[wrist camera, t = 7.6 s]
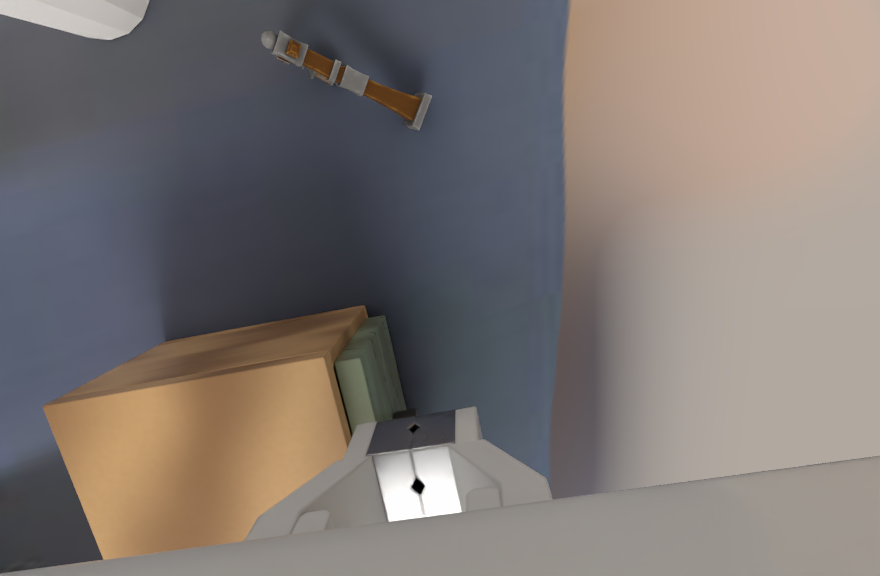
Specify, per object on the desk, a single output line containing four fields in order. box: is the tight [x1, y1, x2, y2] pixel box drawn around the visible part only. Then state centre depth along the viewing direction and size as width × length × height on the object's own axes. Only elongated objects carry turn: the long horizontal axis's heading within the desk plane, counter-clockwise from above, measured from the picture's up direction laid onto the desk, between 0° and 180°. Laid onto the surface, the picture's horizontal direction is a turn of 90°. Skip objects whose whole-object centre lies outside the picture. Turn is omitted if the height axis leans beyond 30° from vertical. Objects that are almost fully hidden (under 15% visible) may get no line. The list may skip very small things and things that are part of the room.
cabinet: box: [43, 305, 368, 560], centre depth 25 cm, size 13×12×9 cm
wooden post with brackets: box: [261, 30, 432, 130], centre depth 24 cm, size 2×8×4 cm, turn 68°
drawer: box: [333, 315, 420, 438], centre depth 25 cm, size 13×10×7 cm
